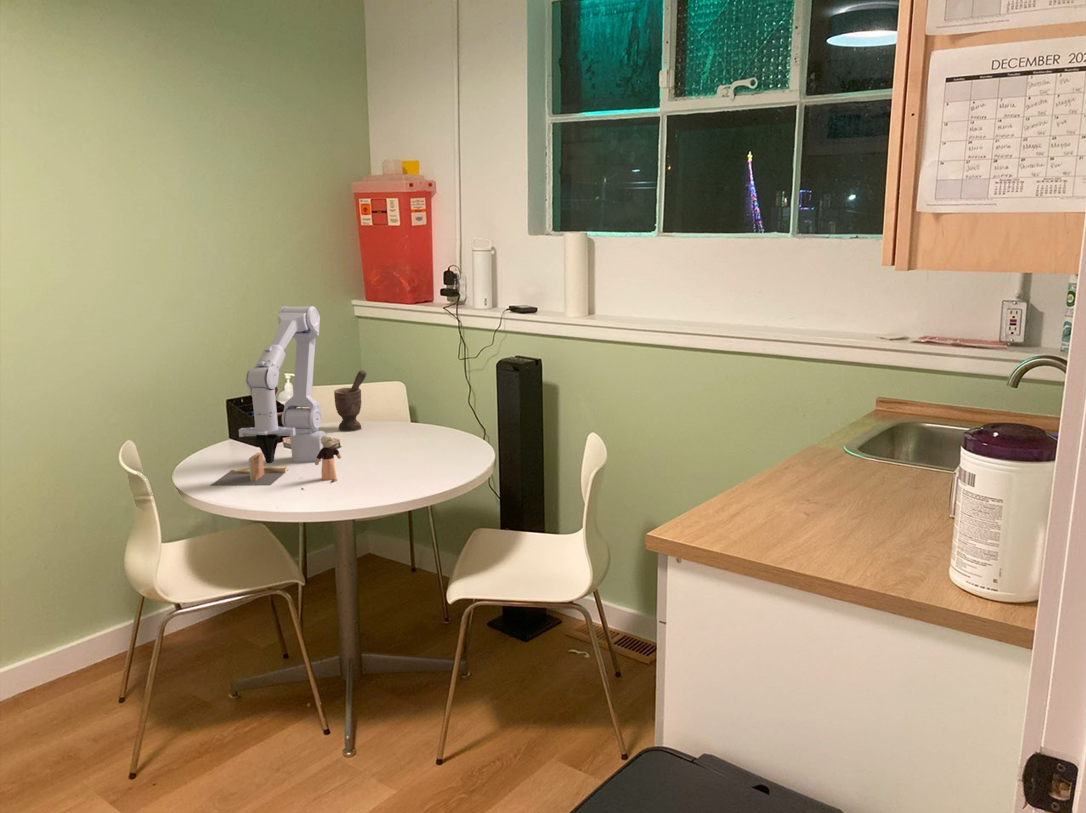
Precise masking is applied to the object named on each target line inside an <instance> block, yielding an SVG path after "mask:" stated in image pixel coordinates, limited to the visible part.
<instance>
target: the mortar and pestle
mask: <svg viewBox="0 0 1086 813" xmlns="http://www.w3.org/2000/svg"><path fill="white" fill-rule="evenodd" d="M366 378H367V372H366V371H365V370H362V369H361V370H359V371H358V372H357V374H356V376H355V379H354V382H353V384H352V386H351V387H341V388H337V389H335V390H334V391H333V394H334V395H333V396H334V405H335V410H336V413H337V414H338V416H340V417H341V419H342V420H341V422H340V423H339V425H338V430H339V431H341V432H349V431H358V430H360V429H362V425H361V423H360V422H359V421H358V420H357V416H359V414H360V412H361V408H362V390H361V388H360V386H361V385H362V384H363V382H364V381H365V380H366Z"/></svg>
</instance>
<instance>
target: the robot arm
mask: <svg viewBox="0 0 1086 813" xmlns="http://www.w3.org/2000/svg"><path fill="white" fill-rule="evenodd" d="M320 321H321V316H320V313H319V312H318V309H317V307H315V306H313V305H312V306H286V305H284V306H282V307H281V308H280V309H279V312H278V315H277V324H278V327H277V329H276V331H275V334H274V338H273V340H272V341H271V342H272V343H271V344H267V345H266V346H265V347H264V349H263V350H262V352H261V355H260V357H259V359H258V360H257V362H256V365H255V366H253V367H251V368H250V369H248V370H247V372H246V378H245V384H246V387H247V388H248V391H249V395H250V396H251V397H252V407H253V409H252V410H253V417H254V427H242V428H239V429H238V436H239V438H244V437H256V438H255V439H254V440H255V441H254V442H255V443H256V444H257V446H258V448H260V451H261V453H262V454H263V459H265V463H266V464H272V463H274V462H275V454H276V450H277V446H278V443H279V441H280V438H281V436H282V437H283V436H284V437H289V438H290V447H291V448H290V449H291V461H293V462H295V463H311V462H314V463H315V462H316V458H317V455H318V454H319V452H320V450H321V449H322V448H324V446H323V444H321V441H320V440H321V437H322V436H324V435H326V433H325V431H323V430H319V428H320V427H321V426H322V425H321V424H322V422H323V421H322V420H323V417H322V410H321V406H322V405H321V404H320V403H319V402H318V401H317V400H316V399H315V398H314V397H312V396H313V382H314V366H315V365H314V364H315V352H316V338H318V337H319V336H320ZM292 338H294V340H295V342H296V346H295V347H296V348H295V363H294V374H293V375H294V376H293V379H294V380H293V391H292V392H293V393H292V396H291V398H289V399H287V401H285V403H284V407H283V411H282V415H281V423H282V426H279V424H278V423H279V421H278V411H277V401H276V400H277V399H276V390H275V389H276V387H277V386H278V384H279V377H280V369H281V367H282V365H283V363H284V360H285V359H286V355H287V354H286V352H285V349H287V346H288V345H289V343H290V341H291V340H292ZM301 407H302V408H301ZM320 462H322V458H321V459H320Z"/></svg>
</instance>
